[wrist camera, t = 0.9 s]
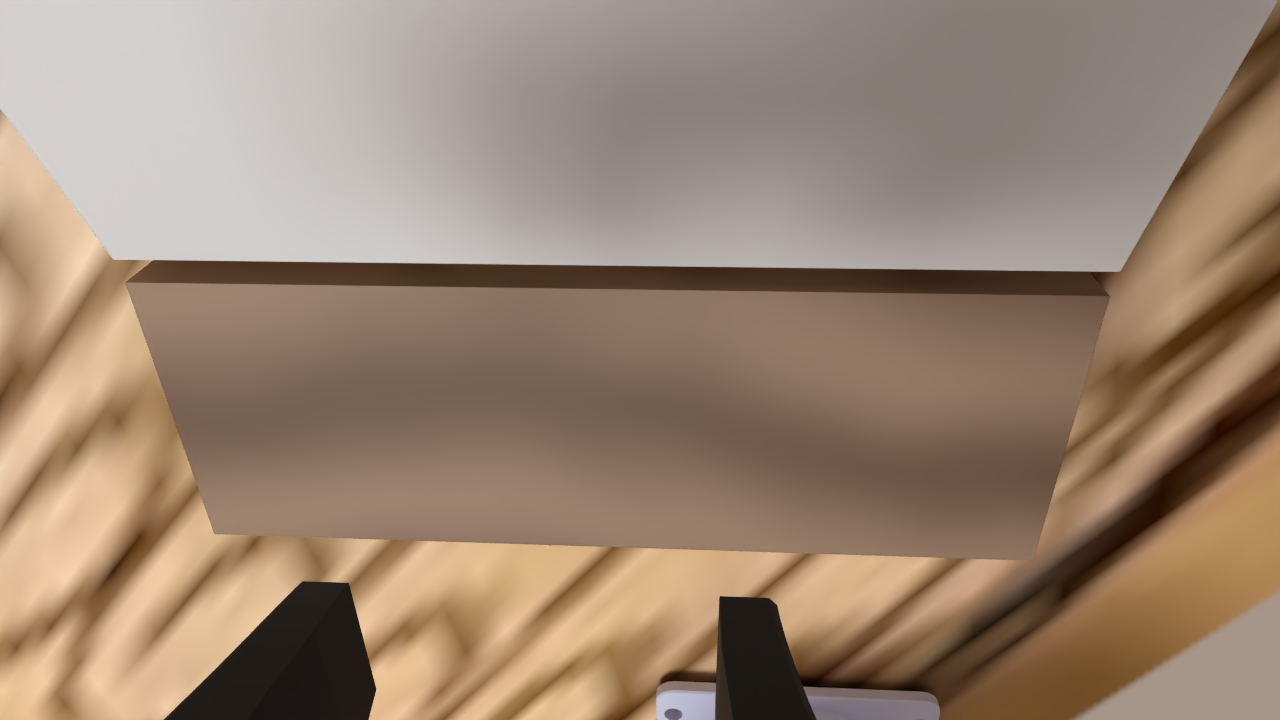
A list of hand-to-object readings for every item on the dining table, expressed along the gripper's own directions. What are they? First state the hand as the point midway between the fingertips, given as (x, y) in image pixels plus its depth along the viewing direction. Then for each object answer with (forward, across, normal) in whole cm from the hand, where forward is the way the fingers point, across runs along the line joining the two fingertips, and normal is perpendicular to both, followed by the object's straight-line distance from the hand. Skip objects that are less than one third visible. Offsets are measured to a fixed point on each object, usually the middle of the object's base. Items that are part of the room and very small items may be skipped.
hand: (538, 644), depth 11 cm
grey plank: (+8, 0, -6) cm, 10 cm away
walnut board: (+9, 0, +2) cm, 10 cm away
